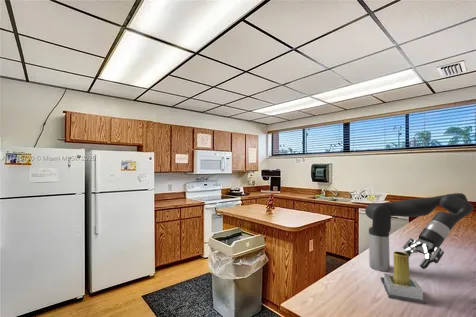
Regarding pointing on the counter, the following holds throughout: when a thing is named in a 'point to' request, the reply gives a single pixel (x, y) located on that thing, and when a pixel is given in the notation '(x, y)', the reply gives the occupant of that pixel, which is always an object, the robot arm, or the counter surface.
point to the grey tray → (403, 290)
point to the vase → (401, 269)
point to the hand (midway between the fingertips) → (412, 263)
